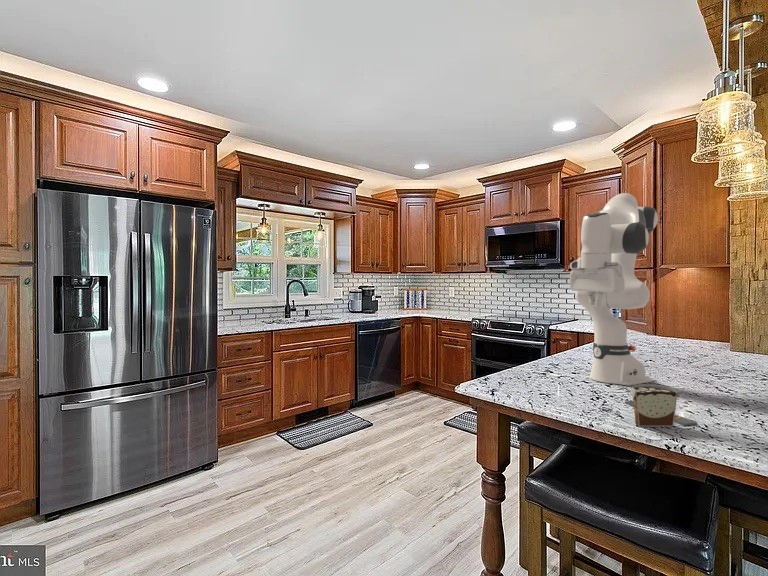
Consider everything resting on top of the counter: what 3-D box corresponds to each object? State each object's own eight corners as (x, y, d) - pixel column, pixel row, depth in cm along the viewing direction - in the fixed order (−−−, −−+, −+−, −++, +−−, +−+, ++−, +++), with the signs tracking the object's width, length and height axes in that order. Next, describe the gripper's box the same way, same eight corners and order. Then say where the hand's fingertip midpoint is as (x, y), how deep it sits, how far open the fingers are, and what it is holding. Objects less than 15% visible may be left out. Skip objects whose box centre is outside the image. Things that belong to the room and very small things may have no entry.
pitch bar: (636, 402, 130) (636, 391, 130) (697, 424, 110) (697, 411, 110) (624, 403, 129) (625, 392, 129) (684, 425, 109) (684, 412, 109)
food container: (663, 418, 115) (663, 383, 115) (678, 426, 109) (679, 389, 109) (620, 418, 115) (620, 383, 115) (633, 426, 109) (633, 389, 109)
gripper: (630, 261, 120) (629, 308, 120) (582, 264, 140) (581, 303, 140) (612, 261, 119) (612, 308, 119) (566, 264, 139) (566, 304, 139)
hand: (595, 305), depth 130 cm, fingers closed
